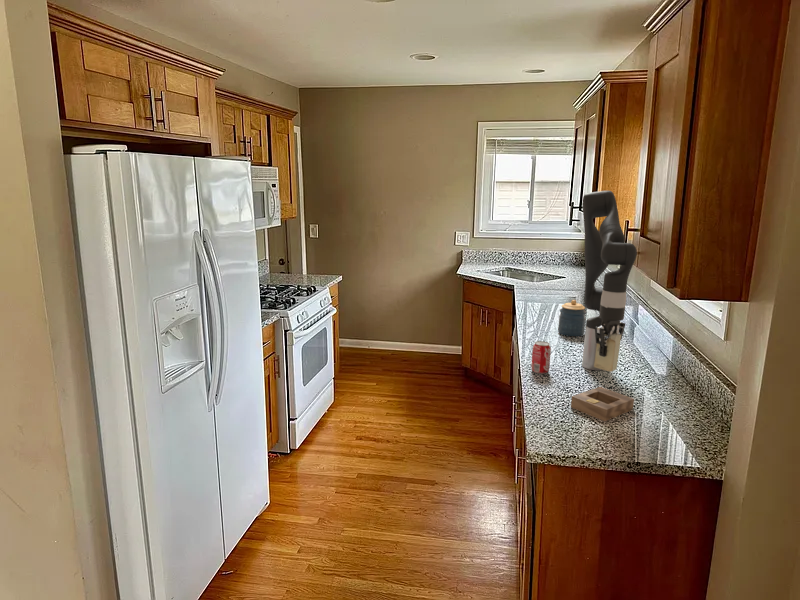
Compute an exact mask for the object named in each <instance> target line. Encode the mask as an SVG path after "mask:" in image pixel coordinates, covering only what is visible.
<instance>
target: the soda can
mask: <svg viewBox="0 0 800 600" xmlns="http://www.w3.org/2000/svg"><path fill="white" fill-rule="evenodd" d="M550 344H551V343H550V342H547V341H544V340H537V341H535V342H534V344H533V346H532V353H531V370H532V372H533V373H535V374H539V375H545V374H547V373H548V372H550V364H551V356H552V355H551V351H552V348H551V345H550Z"/></svg>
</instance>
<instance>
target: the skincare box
mask: <svg viewBox="0 0 800 600" xmlns="http://www.w3.org/2000/svg"><path fill="white" fill-rule="evenodd" d="M604 336H608V335H606V334H604ZM599 340H600V338H599ZM605 340H606V339H605V338H604V342H605ZM621 341H622V339H621V334H620V333H619V334H616V333H615V334H612V336H611V339H610V340H609V341H608V344H607V355H606V356H605V357H603V356H600V355H599V350H600V344H597V347H596V355H595V363H594V367H596V368H599V369H603V370H602V371H607V372H609V373H611V372H614V371H616V370H617V369H618V368H617V367H618V361H619V355H620V354H619V353H620V347H621Z"/></svg>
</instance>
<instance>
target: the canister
mask: <svg viewBox="0 0 800 600" xmlns="http://www.w3.org/2000/svg"><path fill="white" fill-rule="evenodd" d="M561 307H562V308H560V309H559V313H560V314H559V316H558V326H557V333H558V332H559V333H560V334H559V333H558V334H559V335H561V334H563V335H562V336H564V335H567V336H566V337H569V336H581V337H583V336H585V329H586V321H587V318H586V314H587V311H586V307H585V306H584V305H583V304H582V303H579V302H577V299H572V300H571V301H570V302H566V303H564V304H562V305H561ZM582 335H583V336H582Z"/></svg>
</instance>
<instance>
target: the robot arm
mask: <svg viewBox="0 0 800 600" xmlns="http://www.w3.org/2000/svg"><path fill="white" fill-rule="evenodd" d="M582 215H583V227H584V268H585V269H584V270H585V272H584V273H585V282H584V298H583V299H584V305H585V306H584V307H585V309H587V310H591V311H598V312H599V315H597V316H593V317H589V318H586V320H585V329H584V330H585V331H584V343H583V350H582V351H583V352H582V361H581V366H582V367H583V368H584V369H587V370H591V371H604V370H603V369H599V368H596V367H594V363H595V355H596V347H597V344H600V350H599V355H600V356H603V357H605V356H606V355H607V344H608V341H609V340H610V339H611V336H612V334H615V333H616V334H621V340H622V339H623V335H624V331H625V328H626V323H625V322H622V321H623V320H624V319H625V312H626V303H627V287H628V280H629V276H630V274H631V270H632V268H633V266H634V263H635V261H636V259H637V255H638V251H637V247H636V246H635V245H634V243H631V242H626V238H625V234H624V232H623V229H622V226H621V223H620V215H619V209H618V204H617V199H616V196H615V194H614V192H613V191H611V190H600V191H599V190H598V191H593V192H587V193H585V194H584V195H583V198H582ZM604 217H605V218H604ZM596 218H597V219H598V218H604V219H603V221H602V222H601V224H600V226H599V229H598V228H597V226H596V224H595V223H594V219H596ZM609 265H611V266H620V267H619V268H618V269H617V270H613V271H608V272H606V273H605V274H604V277H603V285H602V287H596V286H595V284H596V282H597V280H598V279H599V278H600V276H601V275H602V274H603V273H604V272H605V270H607V268H608V267H609ZM604 334H606V335H608V336H604ZM599 338H600V340H599ZM604 338H605V339H606V340H605V342H604Z"/></svg>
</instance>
